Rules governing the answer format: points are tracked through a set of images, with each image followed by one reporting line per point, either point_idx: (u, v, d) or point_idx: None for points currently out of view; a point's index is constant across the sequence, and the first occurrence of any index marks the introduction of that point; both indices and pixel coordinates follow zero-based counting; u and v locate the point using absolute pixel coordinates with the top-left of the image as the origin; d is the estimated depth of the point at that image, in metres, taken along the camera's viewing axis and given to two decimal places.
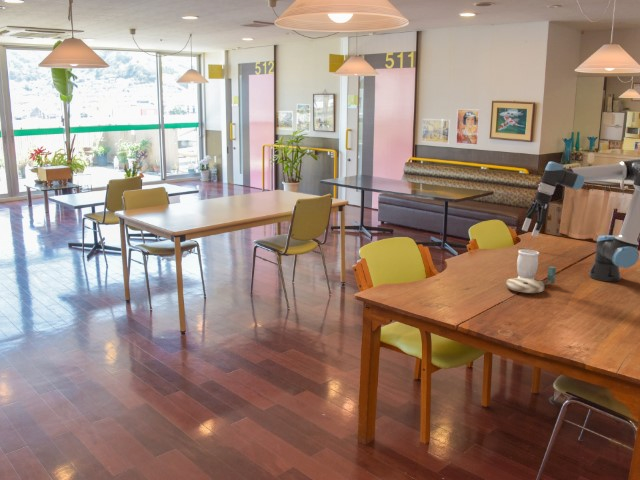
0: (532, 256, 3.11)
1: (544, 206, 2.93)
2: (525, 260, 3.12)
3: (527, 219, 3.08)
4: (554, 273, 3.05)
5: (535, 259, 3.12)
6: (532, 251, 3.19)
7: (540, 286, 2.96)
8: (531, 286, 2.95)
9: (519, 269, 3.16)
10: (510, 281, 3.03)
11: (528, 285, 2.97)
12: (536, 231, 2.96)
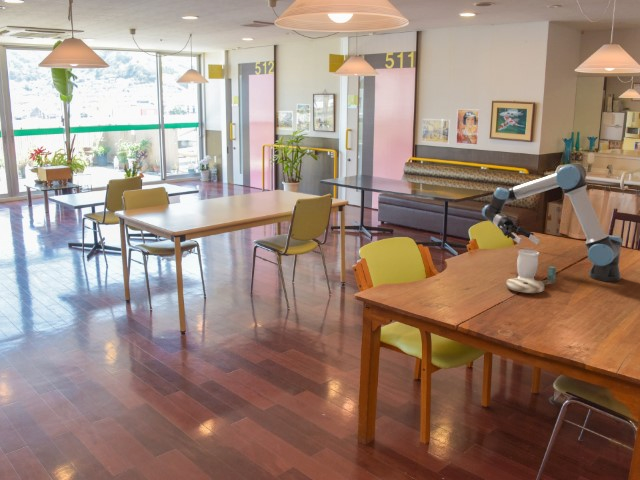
0: (532, 256, 3.11)
1: (500, 228, 3.25)
2: (525, 260, 3.12)
3: (529, 238, 3.25)
4: (554, 273, 3.05)
5: (535, 259, 3.12)
6: (532, 251, 3.19)
7: (540, 286, 2.96)
8: (531, 286, 2.95)
9: (519, 269, 3.16)
10: (510, 281, 3.03)
11: (528, 285, 2.97)
12: (515, 238, 3.15)
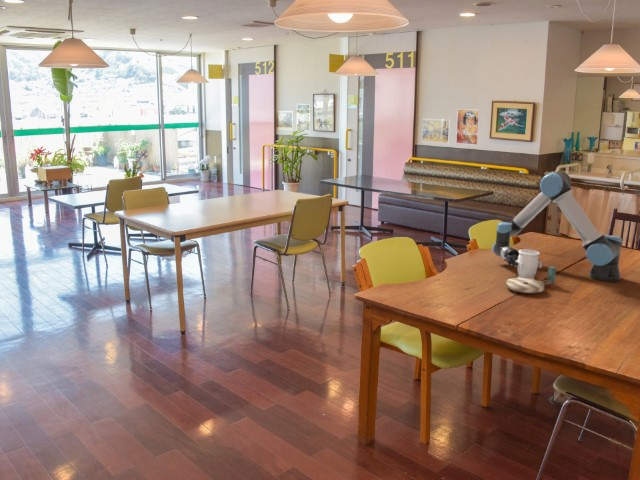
0: (532, 256, 3.11)
1: (504, 259, 3.26)
2: (525, 260, 3.12)
3: None
4: (554, 273, 3.05)
5: (535, 259, 3.12)
6: (532, 251, 3.19)
7: (540, 286, 2.96)
8: (531, 286, 2.95)
9: (519, 269, 3.16)
10: (510, 281, 3.03)
11: (528, 285, 2.97)
12: (518, 264, 3.14)
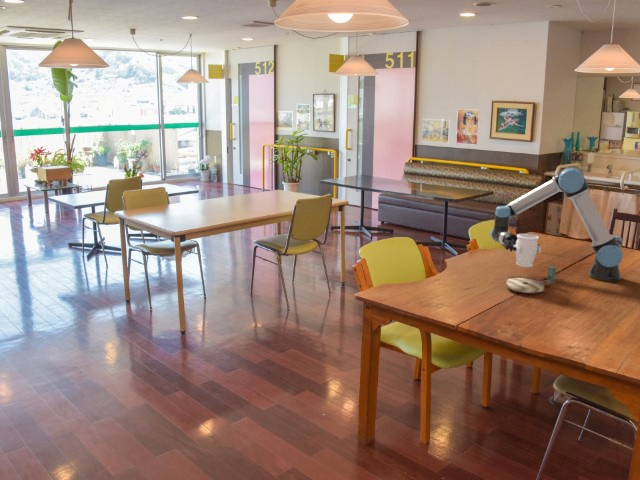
0: (531, 240, 2.95)
1: (502, 244, 3.11)
2: (523, 245, 2.96)
3: None
4: (554, 273, 3.05)
5: (534, 243, 2.96)
6: (531, 235, 3.03)
7: (540, 286, 2.96)
8: (531, 286, 2.95)
9: (517, 254, 3.00)
10: (510, 281, 3.03)
11: (528, 285, 2.97)
12: (516, 249, 2.99)
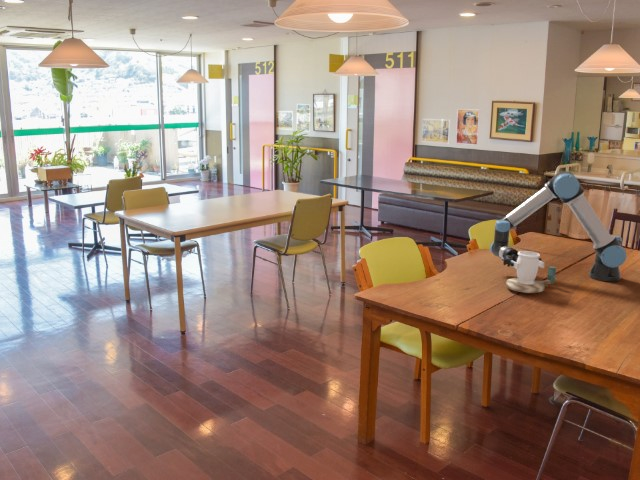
0: (533, 258, 2.92)
1: (502, 259, 3.08)
2: (525, 263, 2.93)
3: None
4: (554, 273, 3.05)
5: (535, 261, 2.93)
6: (532, 253, 3.00)
7: (540, 286, 2.96)
8: (531, 286, 2.95)
9: (518, 272, 2.97)
10: (510, 281, 3.03)
11: (528, 285, 2.97)
12: (514, 265, 2.96)
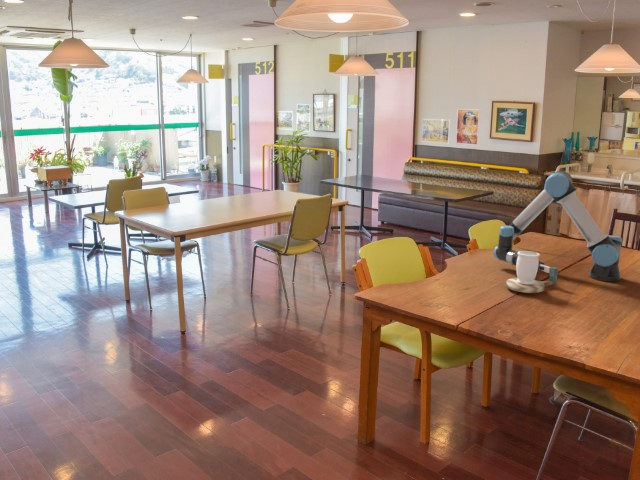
0: (531, 257, 2.92)
1: None
2: (524, 262, 2.94)
3: None
4: (556, 274, 3.04)
5: (535, 260, 2.93)
6: (533, 253, 3.00)
7: (540, 286, 2.95)
8: (530, 286, 2.94)
9: (518, 271, 2.97)
10: (510, 281, 3.03)
11: (527, 285, 2.97)
12: (545, 269, 3.08)
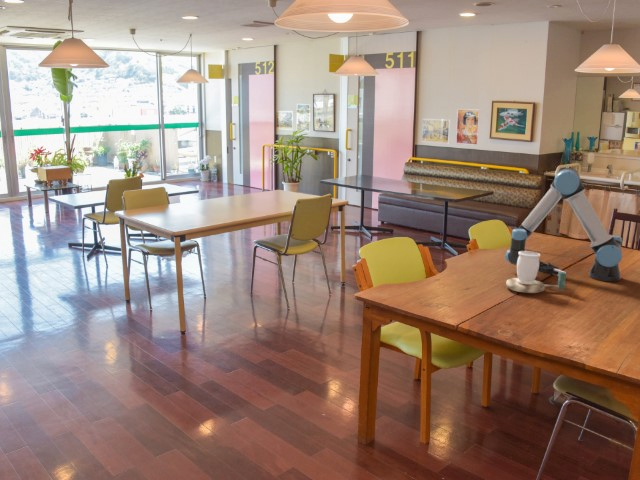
0: (527, 257, 2.93)
1: None
2: (520, 261, 2.95)
3: None
4: (563, 279, 2.96)
5: (531, 261, 2.93)
6: (537, 254, 2.98)
7: (535, 287, 2.93)
8: (524, 286, 2.95)
9: (517, 270, 3.00)
10: (513, 279, 3.06)
11: (524, 285, 2.97)
12: None
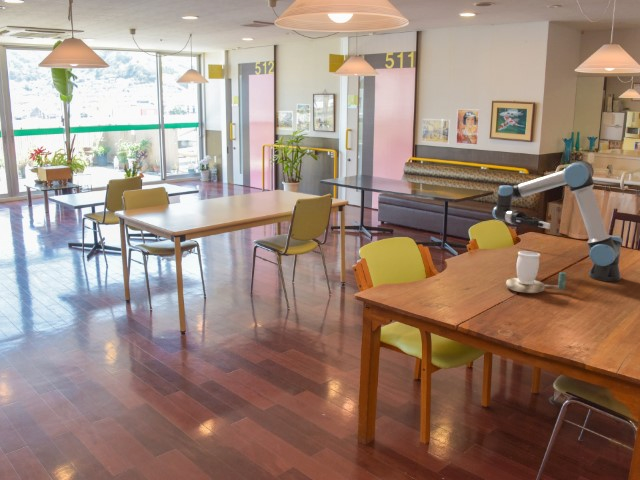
0: (527, 257, 2.93)
1: (518, 222, 3.17)
2: (519, 261, 2.96)
3: None
4: (563, 279, 2.95)
5: (530, 261, 2.93)
6: (537, 254, 2.98)
7: (535, 287, 2.93)
8: (524, 286, 2.95)
9: None
10: (513, 279, 3.06)
11: (524, 285, 2.97)
12: (544, 225, 3.07)
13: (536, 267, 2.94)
